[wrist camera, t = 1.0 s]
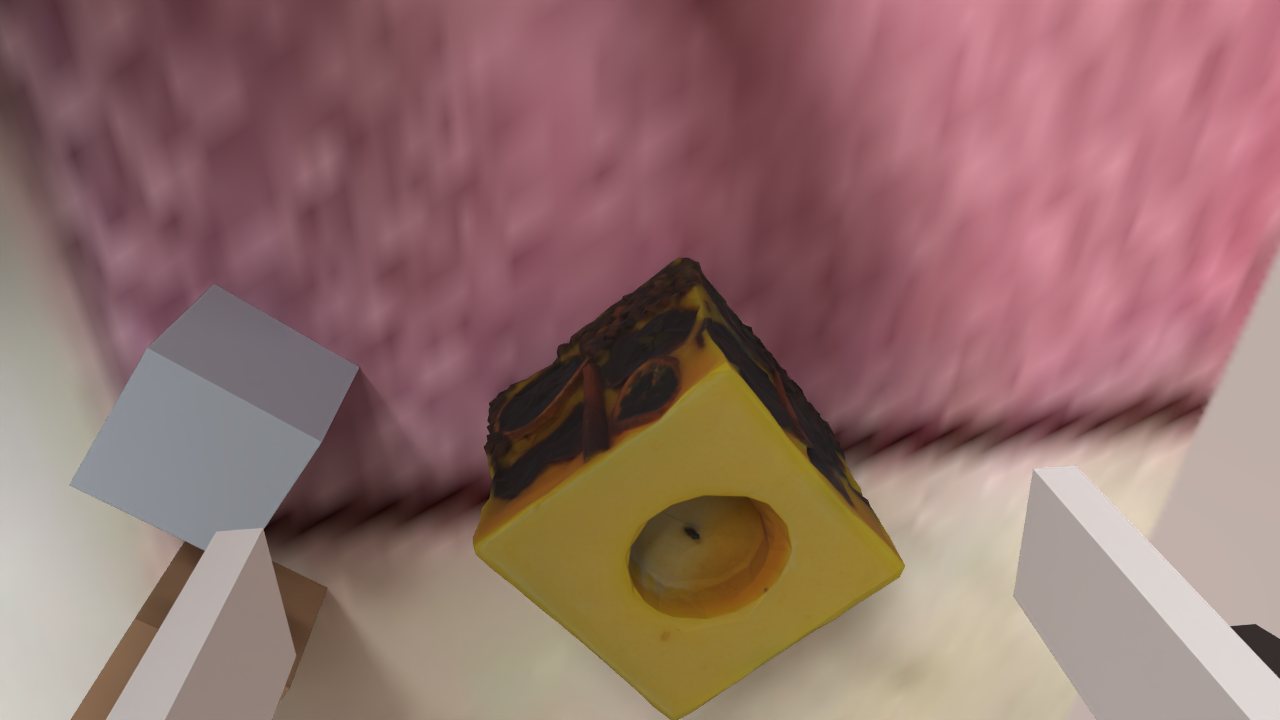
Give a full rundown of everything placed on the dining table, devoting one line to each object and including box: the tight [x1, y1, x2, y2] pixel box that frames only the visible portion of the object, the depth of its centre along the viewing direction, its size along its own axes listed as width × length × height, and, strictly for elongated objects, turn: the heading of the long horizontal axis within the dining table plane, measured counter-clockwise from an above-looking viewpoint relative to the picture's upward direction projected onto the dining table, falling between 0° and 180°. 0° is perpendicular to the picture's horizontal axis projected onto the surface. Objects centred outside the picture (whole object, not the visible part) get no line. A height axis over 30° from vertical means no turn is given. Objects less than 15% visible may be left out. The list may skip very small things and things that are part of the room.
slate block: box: [70, 284, 359, 551], centre depth 33 cm, size 6×6×6 cm
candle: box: [473, 258, 905, 720], centre depth 33 cm, size 10×10×10 cm
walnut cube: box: [71, 541, 327, 720], centre depth 38 cm, size 6×6×6 cm
